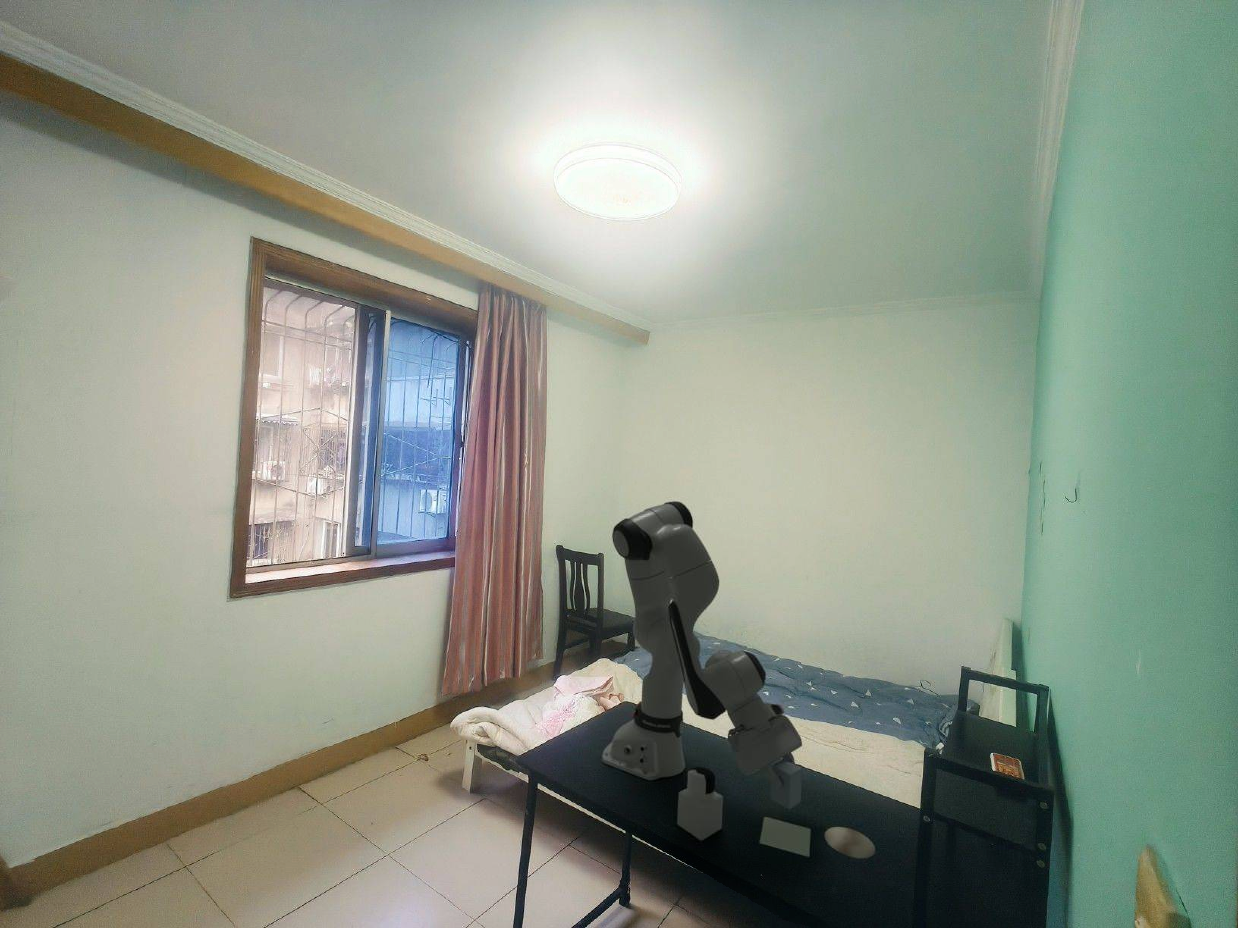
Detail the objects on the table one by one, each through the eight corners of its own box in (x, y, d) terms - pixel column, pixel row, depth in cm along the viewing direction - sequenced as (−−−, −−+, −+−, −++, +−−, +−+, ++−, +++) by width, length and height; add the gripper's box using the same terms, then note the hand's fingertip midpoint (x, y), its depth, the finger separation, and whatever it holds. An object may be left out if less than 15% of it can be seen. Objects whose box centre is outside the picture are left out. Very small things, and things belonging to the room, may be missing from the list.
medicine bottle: (697, 812, 123) (699, 759, 123) (722, 828, 117) (724, 773, 118) (676, 824, 118) (679, 769, 118) (701, 841, 113) (703, 783, 113)
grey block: (770, 798, 116) (771, 765, 116) (781, 791, 119) (783, 758, 119) (789, 809, 112) (790, 774, 113) (800, 801, 115) (801, 767, 116)
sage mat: (759, 843, 113) (759, 842, 113) (764, 817, 122) (764, 816, 122) (809, 857, 109) (809, 856, 109) (810, 829, 119) (810, 828, 119)
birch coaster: (824, 850, 112) (824, 849, 112) (824, 823, 121) (824, 822, 121) (877, 864, 108) (877, 863, 108) (872, 835, 118) (872, 834, 118)
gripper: (733, 725, 115) (770, 792, 107) (785, 703, 128) (821, 761, 120) (715, 738, 118) (751, 804, 110) (768, 715, 131) (803, 773, 123)
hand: (788, 782), depth 115 cm, fingers closed on grey block, 5 cm apart
